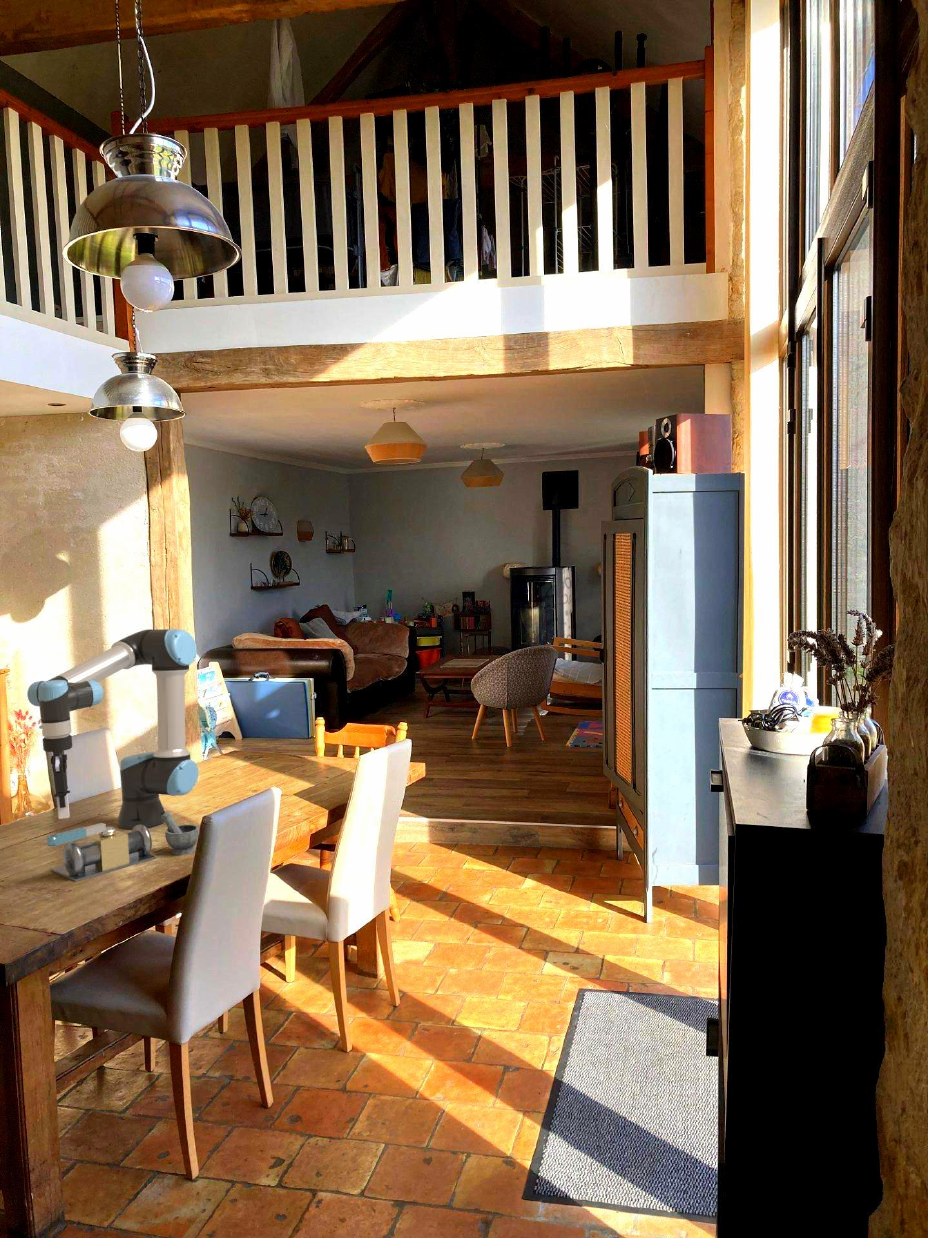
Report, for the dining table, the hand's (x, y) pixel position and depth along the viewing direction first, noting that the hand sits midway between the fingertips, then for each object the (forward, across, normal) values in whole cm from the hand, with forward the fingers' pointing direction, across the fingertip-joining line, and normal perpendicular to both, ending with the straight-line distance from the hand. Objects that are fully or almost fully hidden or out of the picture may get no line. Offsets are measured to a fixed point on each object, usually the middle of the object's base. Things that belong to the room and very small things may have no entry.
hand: (64, 817), depth 261 cm
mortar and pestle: (+16, -3, +31) cm, 35 cm away
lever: (+6, +6, +5) cm, 10 cm away
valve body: (+15, 0, +9) cm, 18 cm away
